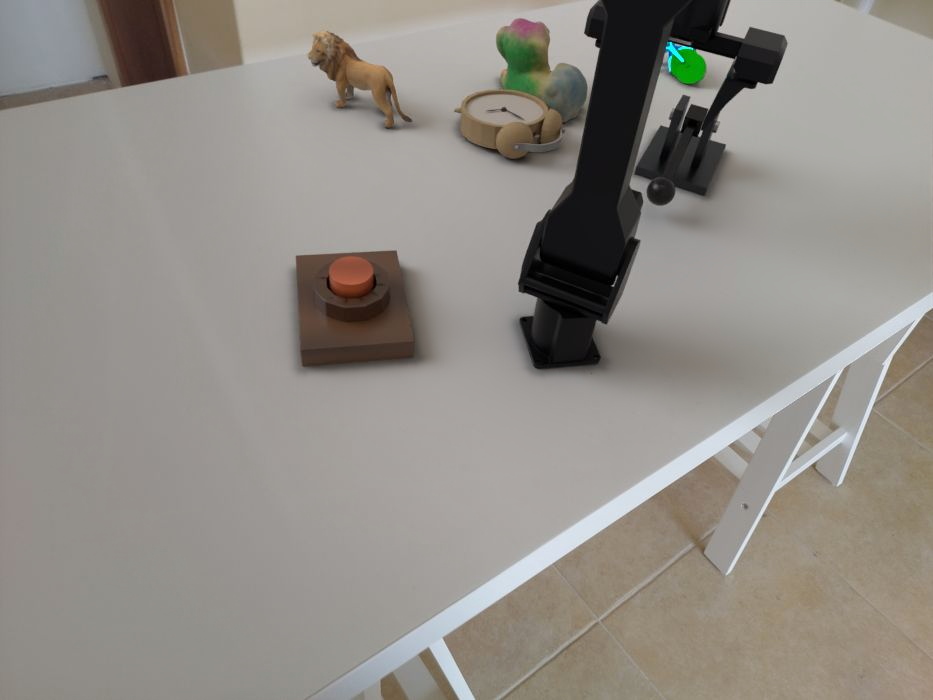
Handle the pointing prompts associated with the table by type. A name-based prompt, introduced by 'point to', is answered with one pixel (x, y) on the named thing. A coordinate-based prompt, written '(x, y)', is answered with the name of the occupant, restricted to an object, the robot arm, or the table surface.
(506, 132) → the alarm clock
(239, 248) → the table surface
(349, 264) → the button
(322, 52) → the lion figurine
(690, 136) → the lever
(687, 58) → the stick construction toy
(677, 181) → the bracket
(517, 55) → the sculpture
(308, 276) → the button block
